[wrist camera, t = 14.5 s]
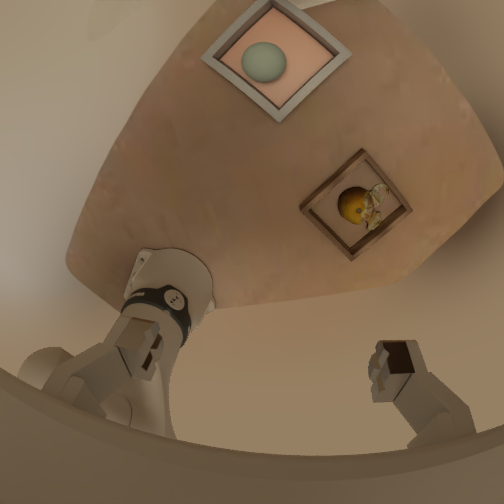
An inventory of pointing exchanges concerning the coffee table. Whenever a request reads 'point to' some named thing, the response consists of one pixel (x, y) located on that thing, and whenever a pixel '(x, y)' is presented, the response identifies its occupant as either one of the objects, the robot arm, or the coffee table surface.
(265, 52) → the ball
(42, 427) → the robot arm
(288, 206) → the coffee table surface
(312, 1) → the heart sculpture
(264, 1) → the grey square tray
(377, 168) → the fruit tray
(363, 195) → the fruit
